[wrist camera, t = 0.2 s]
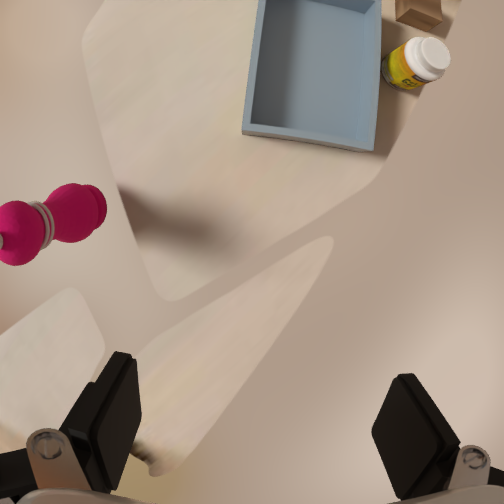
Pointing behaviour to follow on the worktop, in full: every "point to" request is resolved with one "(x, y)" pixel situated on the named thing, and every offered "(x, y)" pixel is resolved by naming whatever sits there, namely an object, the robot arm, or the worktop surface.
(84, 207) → the pepper mill
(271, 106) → the tote
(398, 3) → the walnut cube
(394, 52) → the supplement bottle
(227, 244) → the worktop surface
